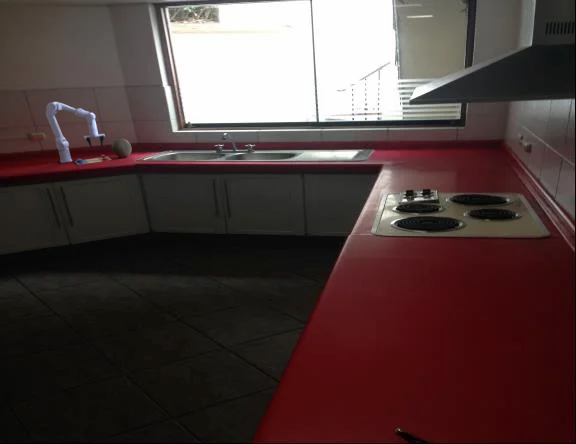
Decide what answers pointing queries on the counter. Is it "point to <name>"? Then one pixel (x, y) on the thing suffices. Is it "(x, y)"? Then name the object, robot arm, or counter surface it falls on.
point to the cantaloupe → (121, 148)
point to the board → (92, 160)
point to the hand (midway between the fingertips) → (96, 147)
